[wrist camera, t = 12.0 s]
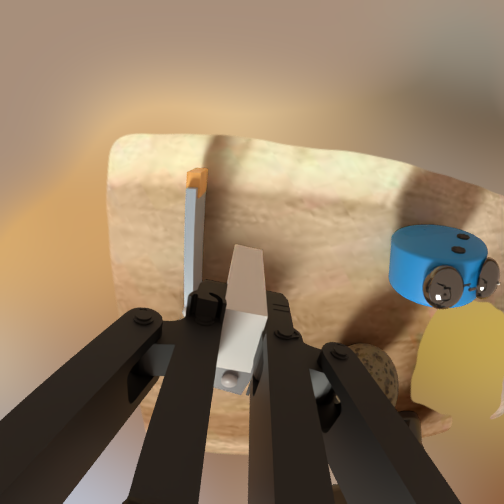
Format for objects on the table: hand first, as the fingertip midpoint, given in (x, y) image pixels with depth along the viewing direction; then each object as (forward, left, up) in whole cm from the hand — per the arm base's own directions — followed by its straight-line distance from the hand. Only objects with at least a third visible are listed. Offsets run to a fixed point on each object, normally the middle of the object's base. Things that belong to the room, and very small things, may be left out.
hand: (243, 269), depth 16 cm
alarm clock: (-21, -12, -21) cm, 32 cm away
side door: (+2, +7, -21) cm, 22 cm away
